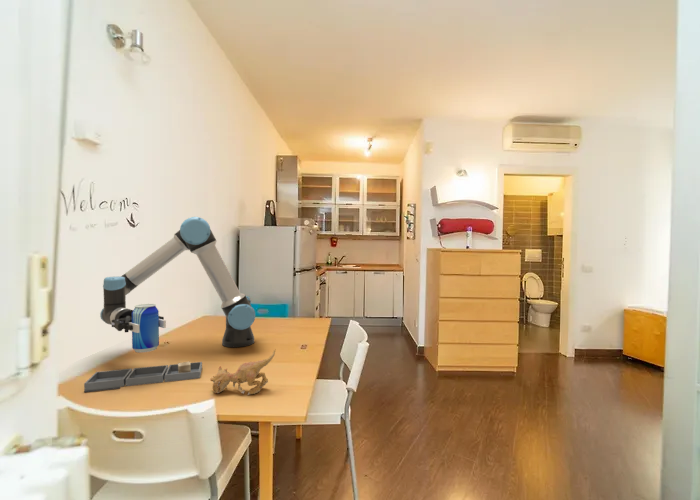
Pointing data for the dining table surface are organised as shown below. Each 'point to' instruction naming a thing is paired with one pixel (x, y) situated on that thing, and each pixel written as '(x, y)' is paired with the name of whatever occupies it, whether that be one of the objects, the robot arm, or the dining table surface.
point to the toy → (242, 376)
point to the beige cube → (184, 367)
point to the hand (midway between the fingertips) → (151, 326)
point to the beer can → (145, 328)
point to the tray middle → (146, 375)
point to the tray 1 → (107, 380)
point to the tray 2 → (175, 376)
